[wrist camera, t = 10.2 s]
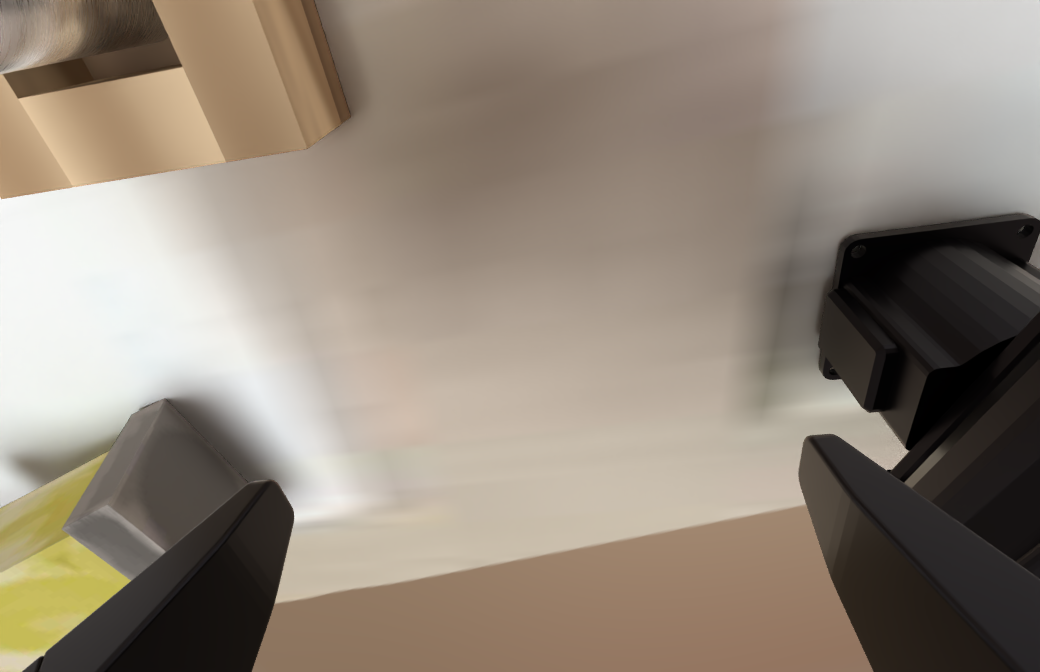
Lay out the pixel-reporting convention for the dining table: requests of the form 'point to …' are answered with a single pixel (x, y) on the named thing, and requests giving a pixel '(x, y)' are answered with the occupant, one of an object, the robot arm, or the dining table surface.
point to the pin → (73, 30)
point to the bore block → (173, 98)
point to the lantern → (102, 528)
